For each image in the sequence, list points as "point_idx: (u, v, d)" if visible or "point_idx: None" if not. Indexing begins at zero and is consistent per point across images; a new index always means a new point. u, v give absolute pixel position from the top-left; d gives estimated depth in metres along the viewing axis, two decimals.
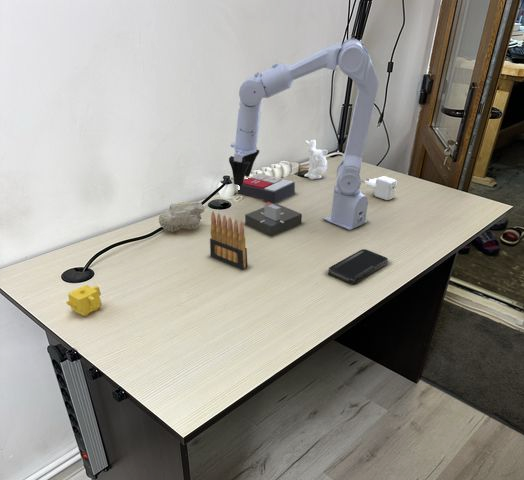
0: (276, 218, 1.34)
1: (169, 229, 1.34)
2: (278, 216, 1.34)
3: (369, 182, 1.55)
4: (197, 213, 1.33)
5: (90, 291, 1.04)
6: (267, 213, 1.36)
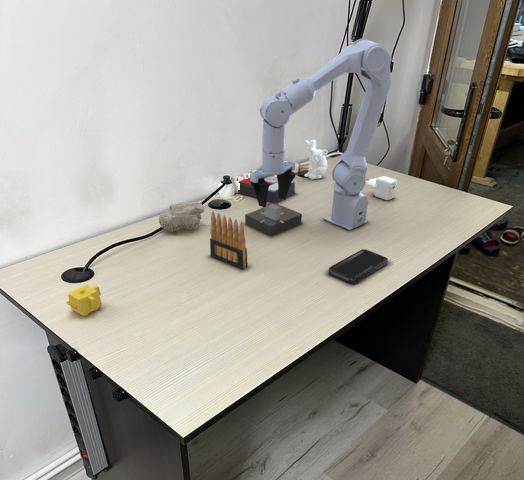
0: (276, 218, 1.34)
1: (169, 229, 1.34)
2: (278, 216, 1.34)
3: (369, 182, 1.55)
4: (197, 213, 1.33)
5: (90, 291, 1.04)
6: (267, 213, 1.36)
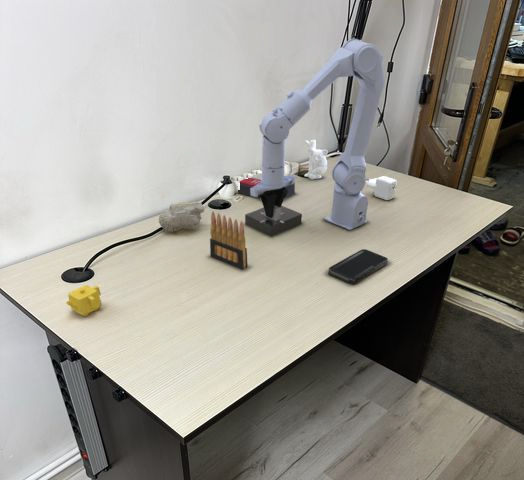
0: (276, 218, 1.34)
1: (169, 229, 1.34)
2: (278, 216, 1.34)
3: (369, 182, 1.55)
4: (197, 213, 1.33)
5: (90, 291, 1.04)
6: None
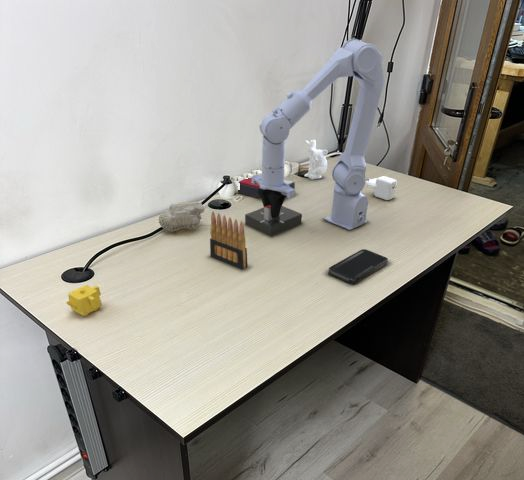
0: None
1: (169, 229, 1.34)
2: None
3: (369, 182, 1.55)
4: (197, 213, 1.33)
5: (90, 291, 1.04)
6: (271, 216, 1.35)
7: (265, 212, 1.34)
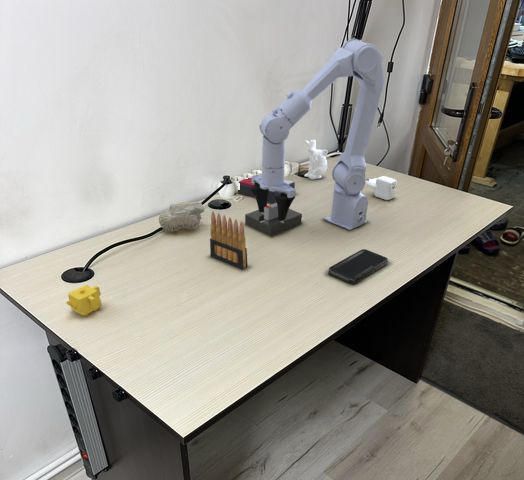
0: None
1: (169, 229, 1.34)
2: None
3: (369, 182, 1.55)
4: (197, 213, 1.33)
5: (90, 291, 1.04)
6: (271, 216, 1.35)
7: (265, 212, 1.34)
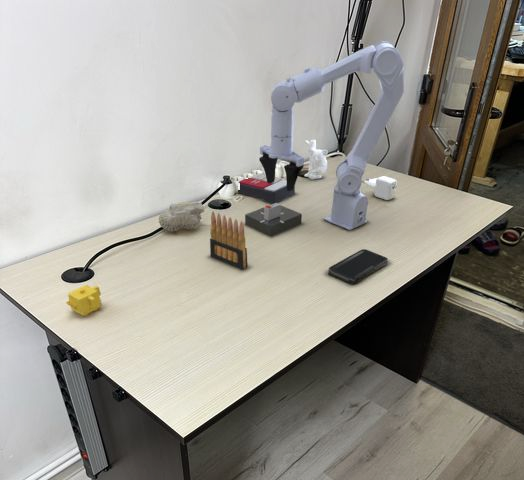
0: None
1: (169, 229, 1.34)
2: None
3: (369, 182, 1.55)
4: (197, 213, 1.33)
5: (90, 291, 1.04)
6: (271, 216, 1.35)
7: (265, 212, 1.34)
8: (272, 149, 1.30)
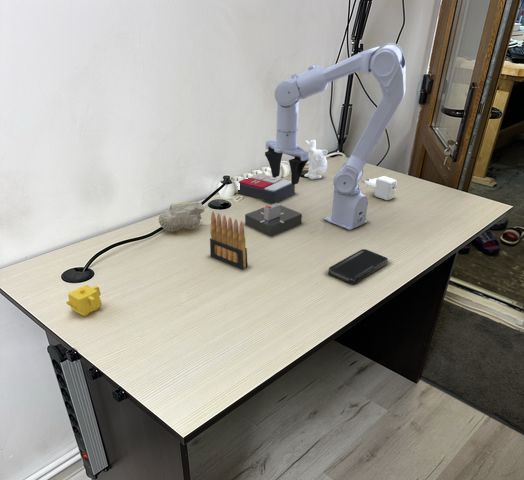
0: None
1: (169, 229, 1.34)
2: None
3: (369, 182, 1.55)
4: (197, 213, 1.33)
5: (90, 291, 1.04)
6: (271, 216, 1.35)
7: (265, 212, 1.34)
8: (277, 144, 1.34)
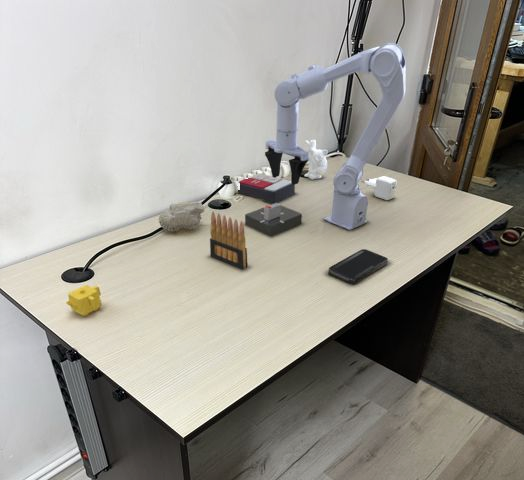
0: None
1: (169, 229, 1.34)
2: None
3: (369, 182, 1.55)
4: (197, 213, 1.33)
5: (90, 291, 1.04)
6: (271, 216, 1.35)
7: (265, 212, 1.34)
8: (277, 144, 1.34)
